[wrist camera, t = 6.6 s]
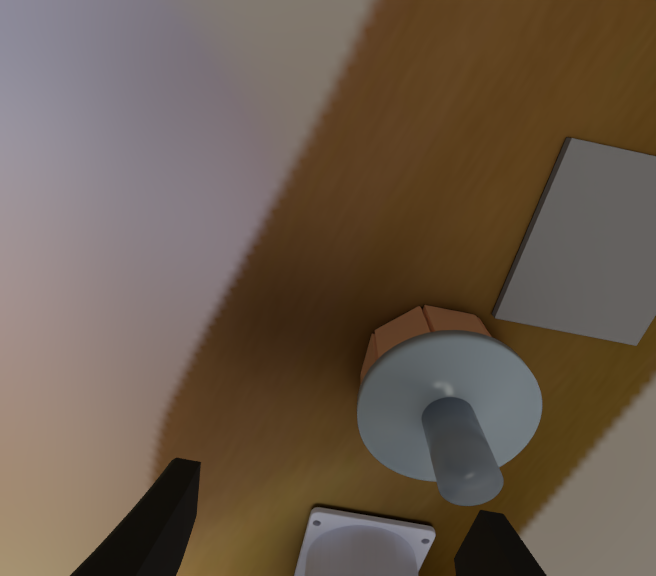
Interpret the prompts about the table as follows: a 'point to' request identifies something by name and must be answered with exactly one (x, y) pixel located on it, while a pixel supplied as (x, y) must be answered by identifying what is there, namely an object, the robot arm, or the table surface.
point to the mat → (589, 247)
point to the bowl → (417, 329)
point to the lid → (449, 411)
